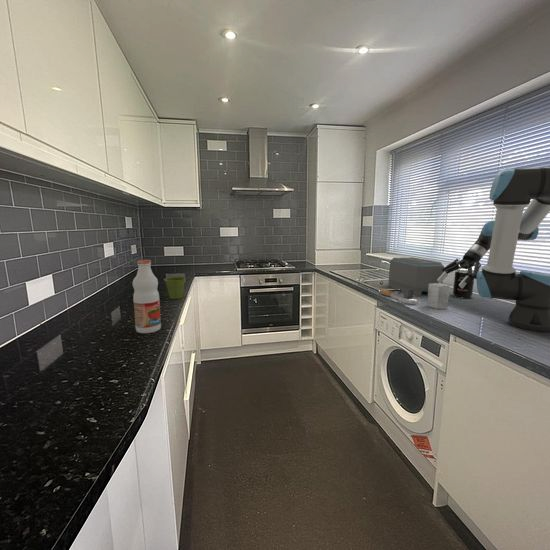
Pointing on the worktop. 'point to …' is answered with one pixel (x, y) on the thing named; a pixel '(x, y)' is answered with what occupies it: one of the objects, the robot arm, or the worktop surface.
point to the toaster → (413, 274)
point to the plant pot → (175, 287)
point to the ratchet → (404, 299)
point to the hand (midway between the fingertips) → (449, 284)
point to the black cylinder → (459, 276)
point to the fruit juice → (146, 299)
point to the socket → (438, 295)
